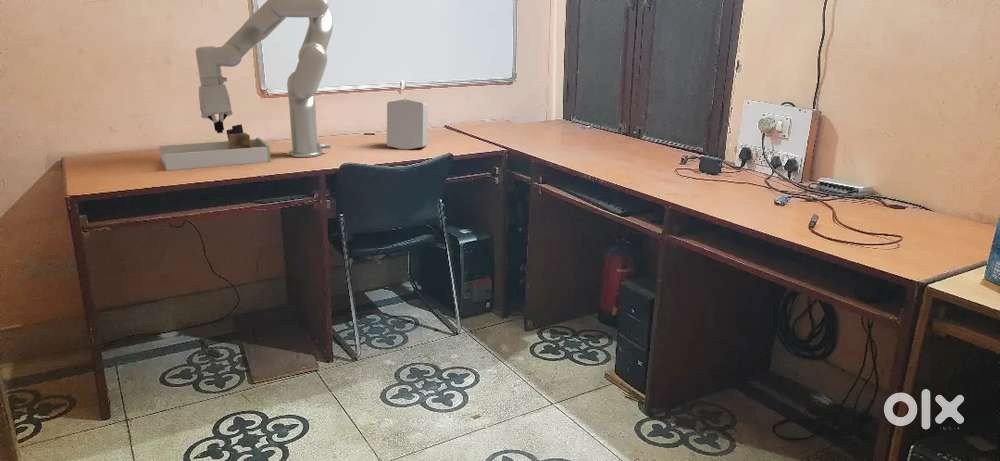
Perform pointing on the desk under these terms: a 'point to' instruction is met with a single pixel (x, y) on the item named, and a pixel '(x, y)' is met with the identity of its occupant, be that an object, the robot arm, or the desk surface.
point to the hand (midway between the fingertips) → (219, 132)
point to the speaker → (235, 130)
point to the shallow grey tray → (212, 154)
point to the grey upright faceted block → (406, 124)
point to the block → (239, 141)
